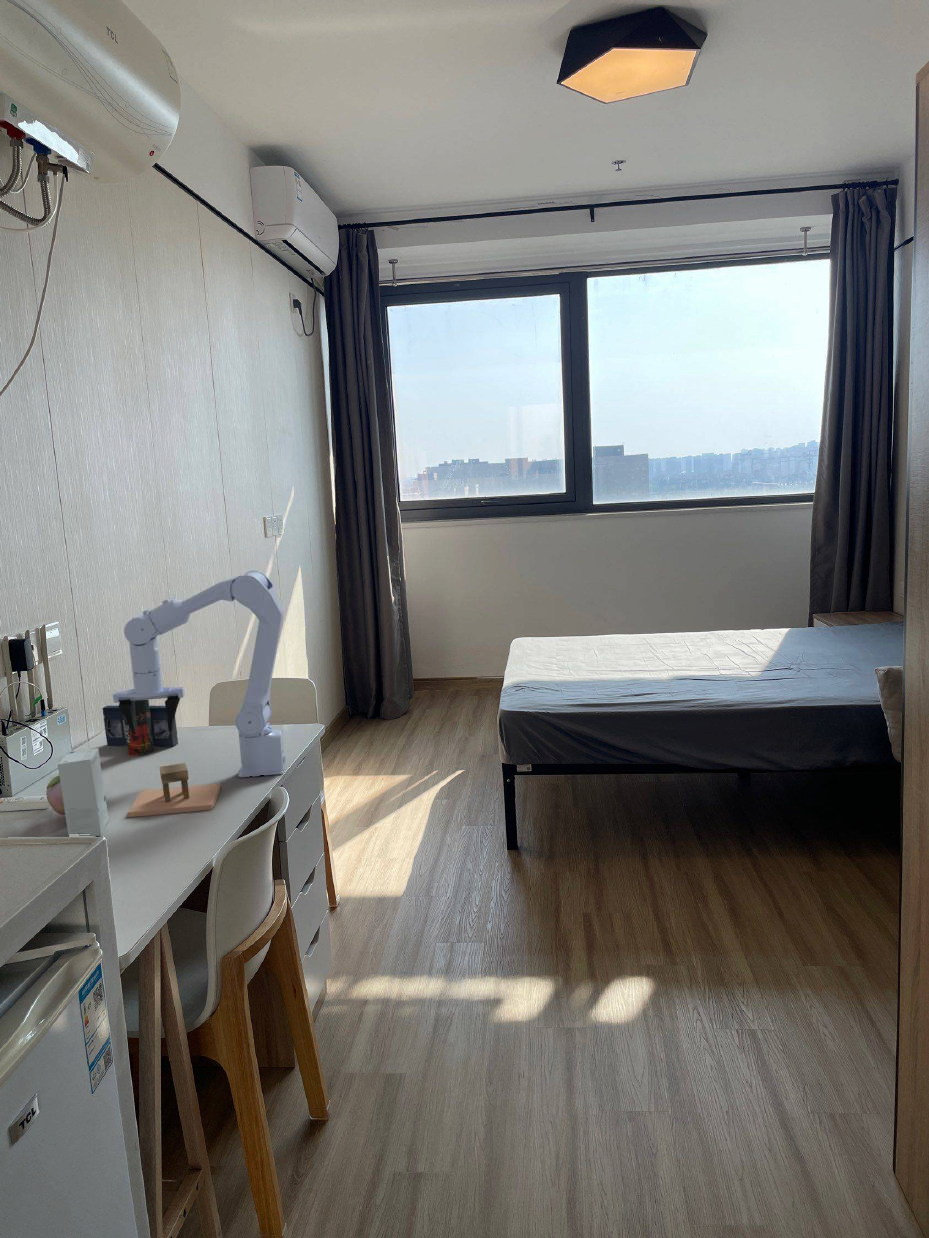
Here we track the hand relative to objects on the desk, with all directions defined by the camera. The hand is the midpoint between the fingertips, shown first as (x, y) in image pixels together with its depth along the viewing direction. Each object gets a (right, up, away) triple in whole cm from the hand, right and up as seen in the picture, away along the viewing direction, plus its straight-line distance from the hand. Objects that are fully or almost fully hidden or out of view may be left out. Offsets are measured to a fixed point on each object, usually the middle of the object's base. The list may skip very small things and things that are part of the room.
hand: (153, 731), depth 190 cm
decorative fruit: (-9, -14, -19) cm, 26 cm away
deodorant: (-10, -8, +20) cm, 24 cm away
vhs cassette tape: (-12, -7, +26) cm, 30 cm away
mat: (+10, -13, -14) cm, 21 cm away
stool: (+10, -11, -14) cm, 20 cm away
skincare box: (-3, -15, -26) cm, 31 cm away
